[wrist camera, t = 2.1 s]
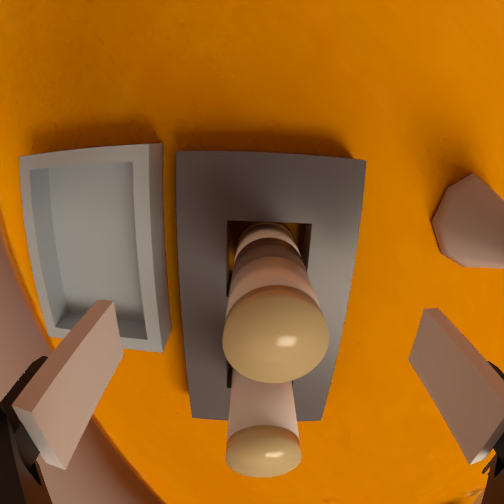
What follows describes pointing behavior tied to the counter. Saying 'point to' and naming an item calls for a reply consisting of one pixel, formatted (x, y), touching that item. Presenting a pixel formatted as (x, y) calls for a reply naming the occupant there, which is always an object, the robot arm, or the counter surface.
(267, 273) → the cylinder
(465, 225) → the flask
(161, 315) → the parts tray
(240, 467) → the cylinder
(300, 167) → the block
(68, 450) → the robot arm
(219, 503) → the counter surface
